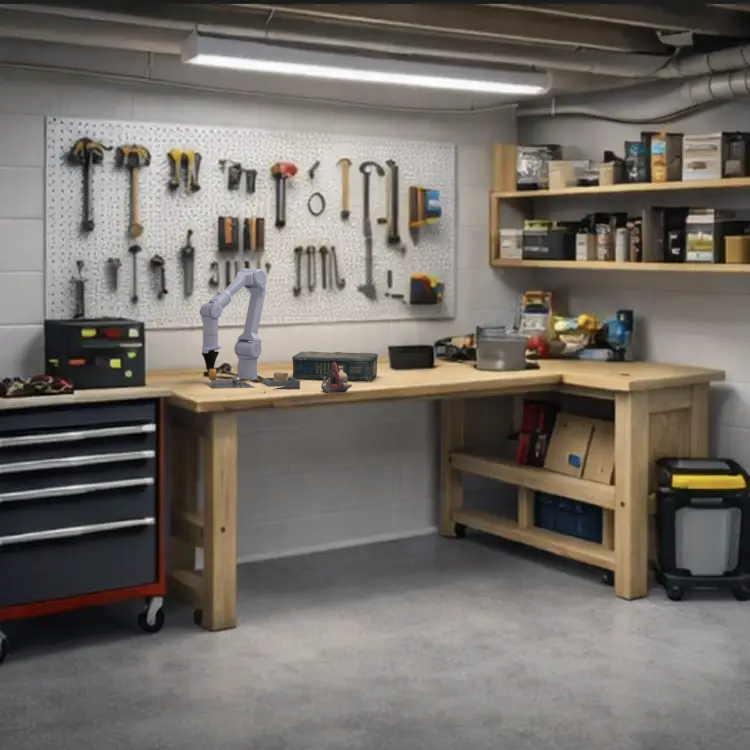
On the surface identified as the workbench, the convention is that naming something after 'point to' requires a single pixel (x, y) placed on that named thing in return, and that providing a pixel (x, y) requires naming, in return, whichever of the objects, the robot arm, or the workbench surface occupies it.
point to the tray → (282, 383)
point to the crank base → (228, 385)
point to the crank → (213, 379)
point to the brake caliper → (336, 381)
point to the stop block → (280, 376)
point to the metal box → (321, 364)
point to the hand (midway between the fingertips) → (210, 370)
